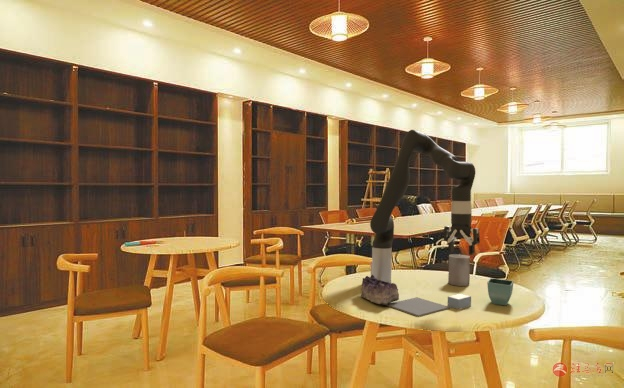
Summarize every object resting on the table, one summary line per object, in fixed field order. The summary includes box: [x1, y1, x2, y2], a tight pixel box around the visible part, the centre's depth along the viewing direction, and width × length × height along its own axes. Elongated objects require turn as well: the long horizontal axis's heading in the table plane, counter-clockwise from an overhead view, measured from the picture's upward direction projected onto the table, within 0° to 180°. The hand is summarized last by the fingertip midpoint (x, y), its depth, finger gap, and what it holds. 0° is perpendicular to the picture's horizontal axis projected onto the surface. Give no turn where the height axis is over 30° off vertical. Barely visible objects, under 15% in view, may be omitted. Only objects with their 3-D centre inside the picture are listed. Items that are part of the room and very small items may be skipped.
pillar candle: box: [447, 252, 471, 287], centre depth 194 cm, size 10×10×15 cm
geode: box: [360, 275, 400, 306], centre depth 164 cm, size 20×12×10 cm, turn 27°
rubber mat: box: [385, 296, 451, 317], centre depth 156 cm, size 16×18×1 cm
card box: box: [447, 293, 472, 310], centre depth 158 cm, size 5×8×4 cm, turn 125°
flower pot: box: [486, 277, 514, 306], centre depth 162 cm, size 9×9×9 cm
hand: (461, 253), depth 158 cm, fingers open, 8 cm apart
